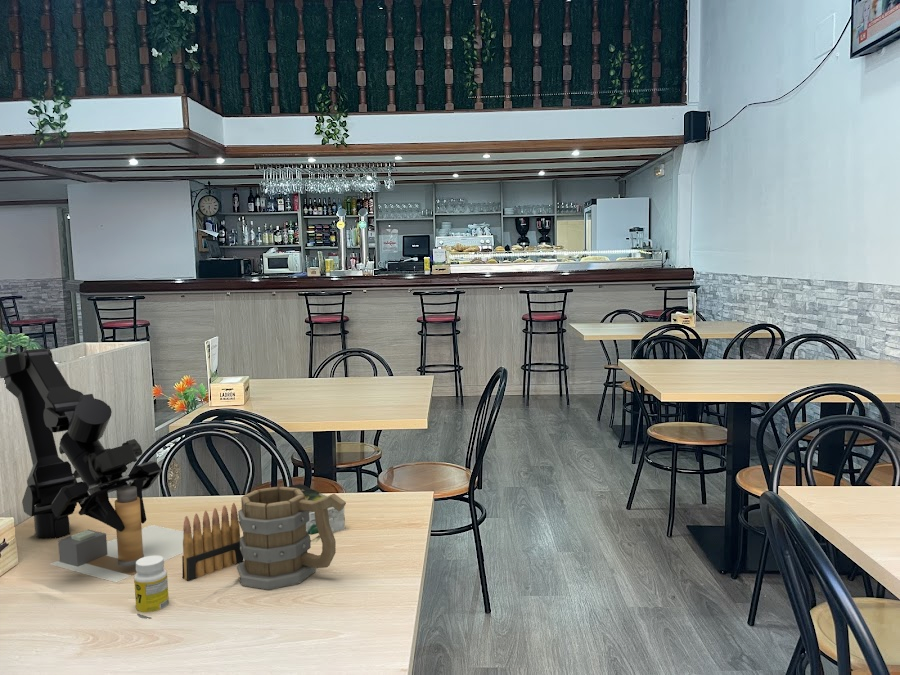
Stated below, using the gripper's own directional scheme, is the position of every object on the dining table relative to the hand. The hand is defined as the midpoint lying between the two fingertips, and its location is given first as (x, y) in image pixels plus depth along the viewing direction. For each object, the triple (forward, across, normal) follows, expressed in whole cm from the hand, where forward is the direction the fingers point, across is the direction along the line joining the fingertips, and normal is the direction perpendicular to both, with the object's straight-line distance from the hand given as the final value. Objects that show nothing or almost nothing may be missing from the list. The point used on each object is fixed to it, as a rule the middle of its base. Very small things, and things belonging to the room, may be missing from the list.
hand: (134, 525), depth 125 cm
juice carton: (+13, +34, 0) cm, 36 cm away
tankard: (+24, +12, -11) cm, 29 cm away
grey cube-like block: (-4, -1, +15) cm, 16 cm away
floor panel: (+1, +6, +12) cm, 13 cm away
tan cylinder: (+4, 0, +6) cm, 7 cm away
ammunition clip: (+15, +6, -2) cm, 17 cm away
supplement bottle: (+16, -8, -3) cm, 18 cm away
